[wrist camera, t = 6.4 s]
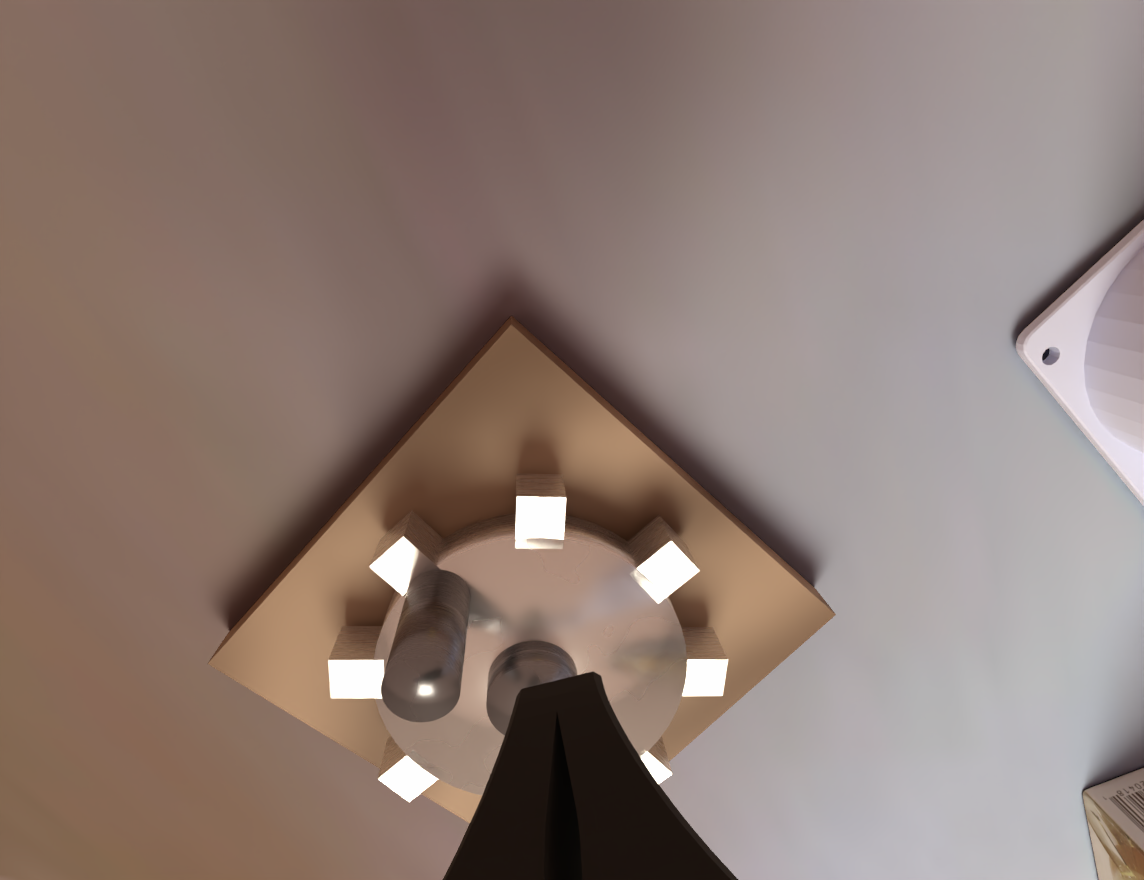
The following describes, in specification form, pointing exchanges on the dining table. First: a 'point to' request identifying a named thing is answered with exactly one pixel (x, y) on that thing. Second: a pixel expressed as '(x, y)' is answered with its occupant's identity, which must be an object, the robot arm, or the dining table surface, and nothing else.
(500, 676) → the sprocket
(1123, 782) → the coffee box
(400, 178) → the dining table surface
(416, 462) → the index board
